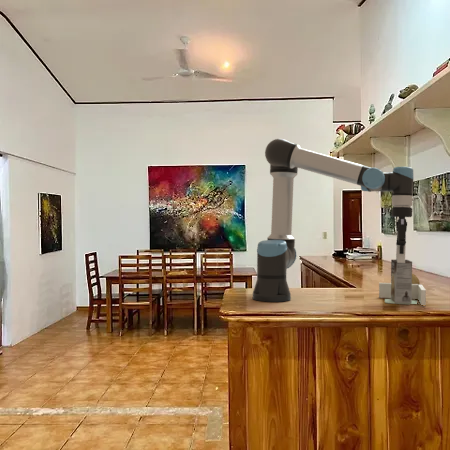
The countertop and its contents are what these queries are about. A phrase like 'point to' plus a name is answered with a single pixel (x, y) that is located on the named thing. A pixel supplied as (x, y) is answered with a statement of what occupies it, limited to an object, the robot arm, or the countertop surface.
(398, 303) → the pad
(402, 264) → the coffee box
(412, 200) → the robot arm
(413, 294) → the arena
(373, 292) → the countertop surface
